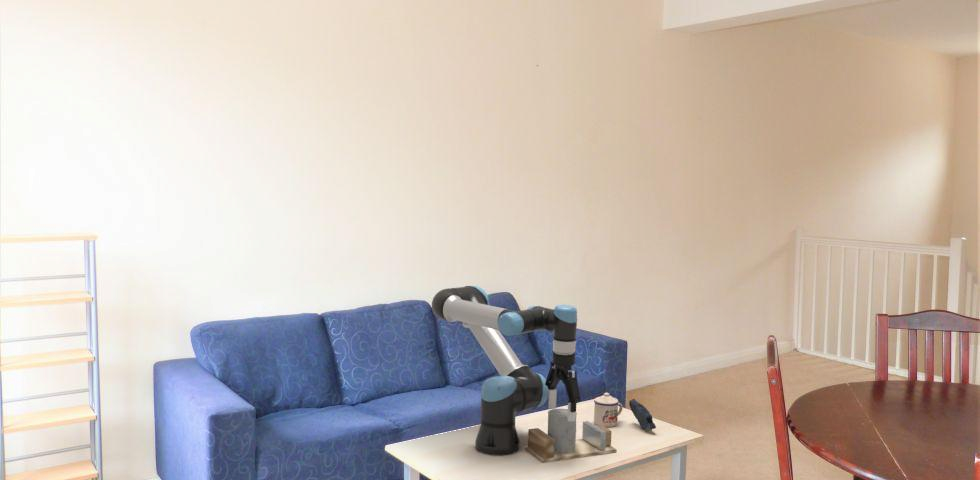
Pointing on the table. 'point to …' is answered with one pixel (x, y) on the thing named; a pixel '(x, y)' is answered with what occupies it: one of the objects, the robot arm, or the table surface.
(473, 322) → the robot arm
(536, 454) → the press
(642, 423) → the stone
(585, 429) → the slide jaw
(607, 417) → the teacup with lid
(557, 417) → the gray cylinder
